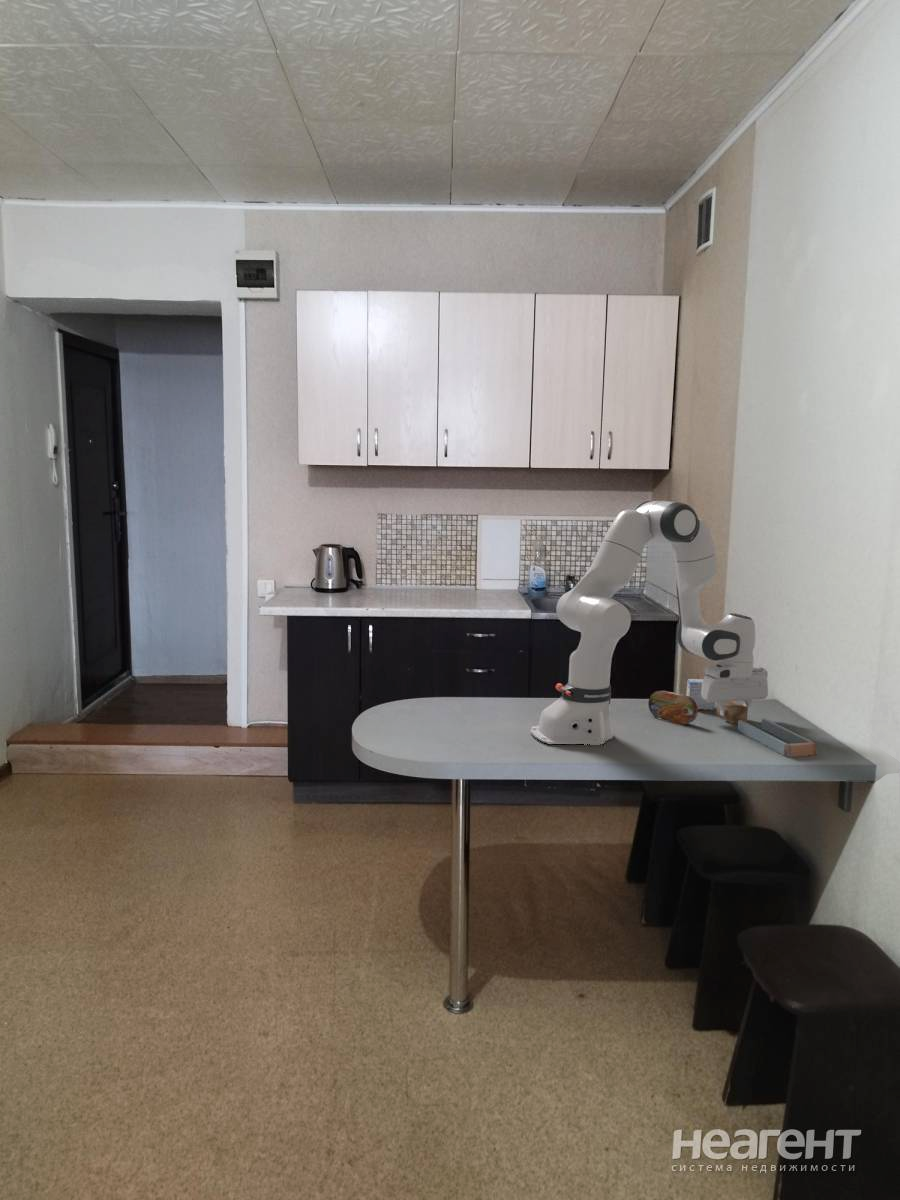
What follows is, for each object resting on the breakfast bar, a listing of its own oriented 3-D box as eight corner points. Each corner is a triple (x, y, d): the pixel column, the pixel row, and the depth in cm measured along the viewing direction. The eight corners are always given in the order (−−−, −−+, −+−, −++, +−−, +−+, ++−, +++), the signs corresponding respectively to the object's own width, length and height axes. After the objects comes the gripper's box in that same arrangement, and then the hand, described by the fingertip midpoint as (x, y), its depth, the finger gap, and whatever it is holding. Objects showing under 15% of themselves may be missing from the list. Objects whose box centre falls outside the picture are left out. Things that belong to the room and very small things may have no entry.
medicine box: (711, 706, 252) (713, 679, 251) (714, 710, 248) (716, 683, 246) (685, 705, 253) (687, 678, 252) (688, 709, 249) (689, 682, 247)
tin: (647, 715, 241) (648, 688, 240) (652, 713, 244) (654, 686, 242) (692, 728, 231) (694, 699, 229) (698, 725, 233) (700, 697, 232)
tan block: (731, 723, 235) (732, 708, 234) (716, 715, 243) (717, 701, 242) (746, 722, 236) (747, 707, 236) (730, 714, 244) (731, 700, 243)
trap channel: (787, 757, 208) (788, 746, 207) (737, 730, 229) (738, 720, 229) (816, 754, 210) (817, 743, 210) (764, 728, 231) (765, 718, 231)
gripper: (761, 664, 242) (757, 709, 244) (699, 667, 237) (696, 713, 239) (774, 669, 236) (770, 715, 238) (711, 673, 231) (708, 719, 233)
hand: (733, 714), depth 238 cm, fingers closed on tan block, 5 cm apart
